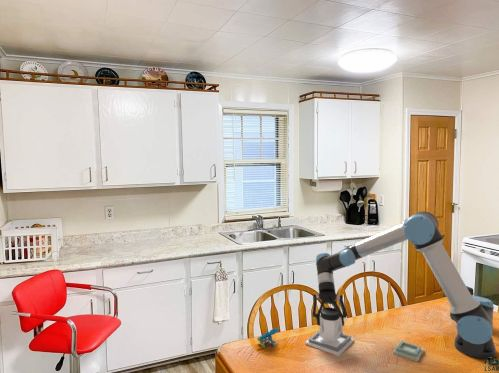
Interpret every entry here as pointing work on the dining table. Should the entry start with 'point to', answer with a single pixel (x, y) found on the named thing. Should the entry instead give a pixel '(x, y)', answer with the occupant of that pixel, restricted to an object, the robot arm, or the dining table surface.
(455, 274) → the robot arm
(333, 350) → the grey picture frame
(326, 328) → the jar
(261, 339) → the blue green toy
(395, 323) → the dining table surface
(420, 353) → the small collar
